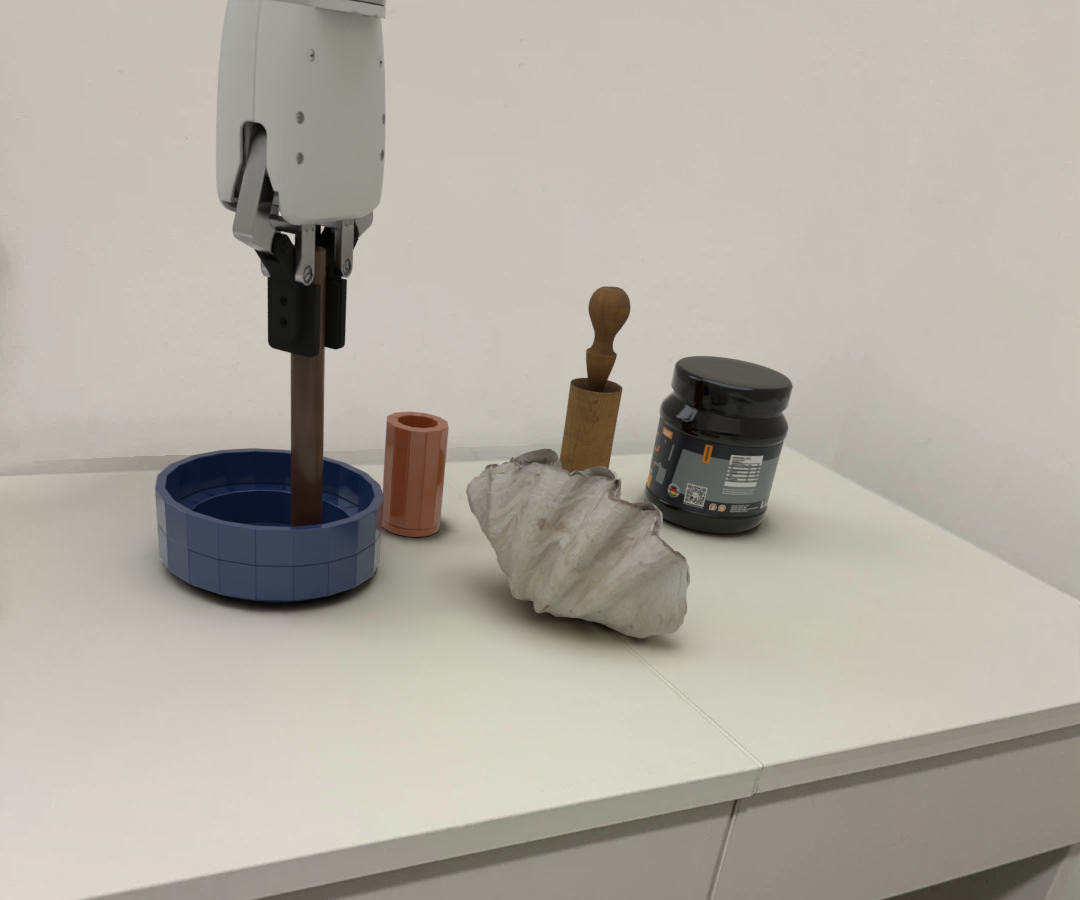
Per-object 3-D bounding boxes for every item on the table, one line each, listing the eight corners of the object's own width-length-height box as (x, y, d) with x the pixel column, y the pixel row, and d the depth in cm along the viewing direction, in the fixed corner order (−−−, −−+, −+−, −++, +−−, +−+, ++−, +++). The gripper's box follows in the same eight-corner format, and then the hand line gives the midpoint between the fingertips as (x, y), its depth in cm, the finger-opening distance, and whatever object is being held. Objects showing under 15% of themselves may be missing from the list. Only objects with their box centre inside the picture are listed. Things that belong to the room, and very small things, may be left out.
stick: (284, 542, 69) (283, 245, 59) (302, 533, 71) (303, 242, 61) (311, 550, 68) (313, 252, 59) (327, 540, 70) (333, 248, 61)
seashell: (557, 556, 79) (577, 424, 74) (693, 646, 69) (727, 502, 64) (440, 576, 73) (453, 435, 68) (571, 678, 64) (597, 523, 58)
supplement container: (678, 481, 97) (706, 347, 90) (782, 518, 92) (820, 379, 86) (618, 507, 89) (645, 363, 83) (729, 549, 85) (766, 399, 78)
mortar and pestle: (524, 528, 82) (557, 285, 73) (544, 502, 88) (576, 272, 78) (607, 547, 82) (651, 303, 72) (621, 519, 87) (664, 288, 77)
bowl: (112, 570, 68) (105, 488, 65) (247, 506, 79) (246, 434, 76) (303, 634, 64) (304, 550, 61) (415, 557, 75) (421, 483, 72)
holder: (369, 526, 79) (375, 420, 75) (398, 509, 82) (405, 407, 78) (422, 542, 78) (430, 435, 74) (449, 524, 81) (458, 421, 77)
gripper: (332, -19, 61) (325, 316, 70) (142, -58, 48) (165, 358, 58) (449, -2, 59) (425, 340, 68) (283, -38, 46) (283, 389, 56)
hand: (306, 345), depth 63 cm, fingers closed on stick, 2 cm apart
